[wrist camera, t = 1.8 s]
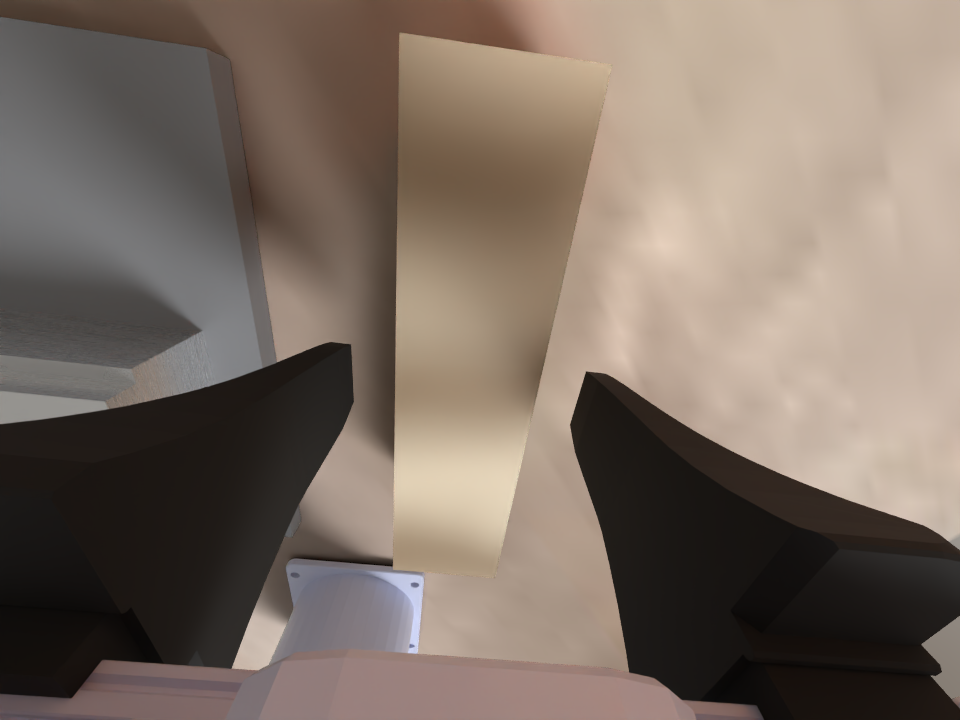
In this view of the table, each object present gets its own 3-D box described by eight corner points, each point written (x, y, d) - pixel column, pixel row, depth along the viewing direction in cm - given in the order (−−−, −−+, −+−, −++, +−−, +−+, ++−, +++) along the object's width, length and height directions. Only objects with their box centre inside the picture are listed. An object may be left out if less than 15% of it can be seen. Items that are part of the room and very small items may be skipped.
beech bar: (492, 481, 18) (494, 578, 14) (415, 474, 18) (393, 569, 14) (560, 111, 11) (612, 64, 7) (433, 93, 11) (399, 32, 6)
